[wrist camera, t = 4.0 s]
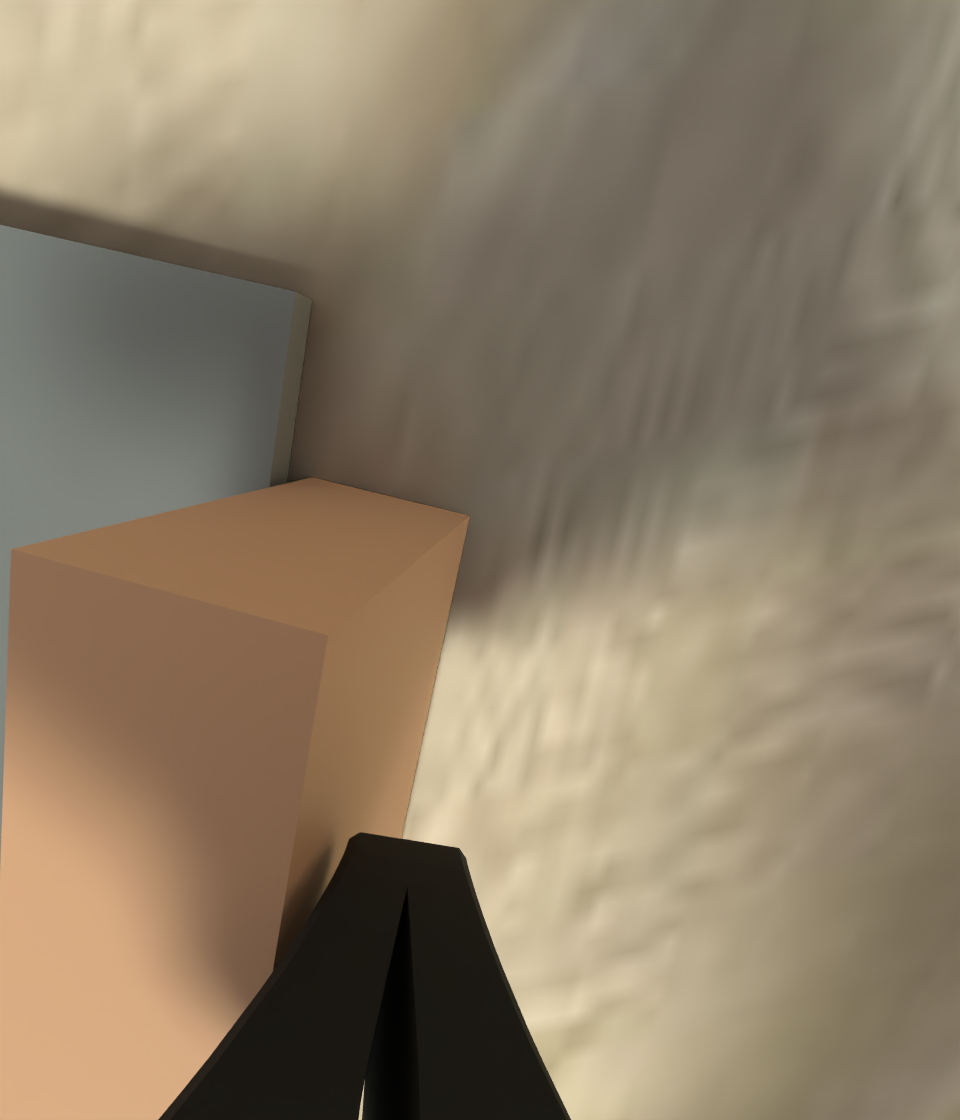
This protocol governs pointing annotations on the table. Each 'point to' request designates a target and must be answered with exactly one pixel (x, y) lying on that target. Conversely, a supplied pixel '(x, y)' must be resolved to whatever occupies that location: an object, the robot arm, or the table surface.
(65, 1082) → the slab
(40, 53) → the table surface
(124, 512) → the grey tray
